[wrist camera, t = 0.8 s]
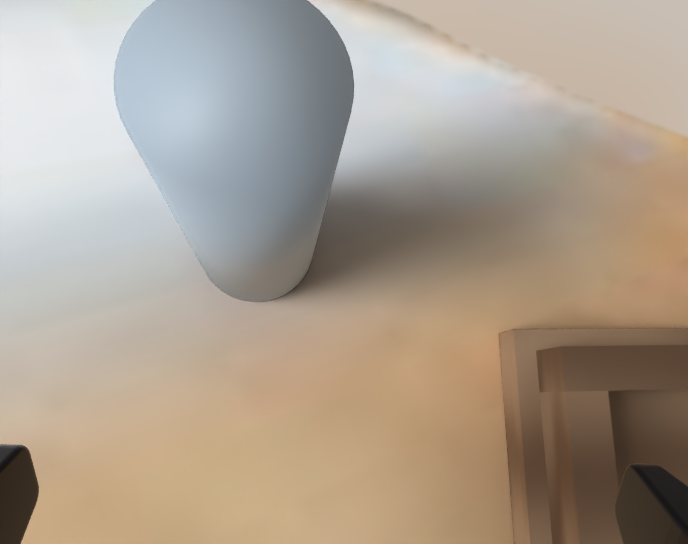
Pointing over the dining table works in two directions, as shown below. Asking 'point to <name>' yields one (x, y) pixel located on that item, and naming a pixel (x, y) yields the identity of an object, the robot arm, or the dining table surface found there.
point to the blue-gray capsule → (239, 129)
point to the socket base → (588, 423)
